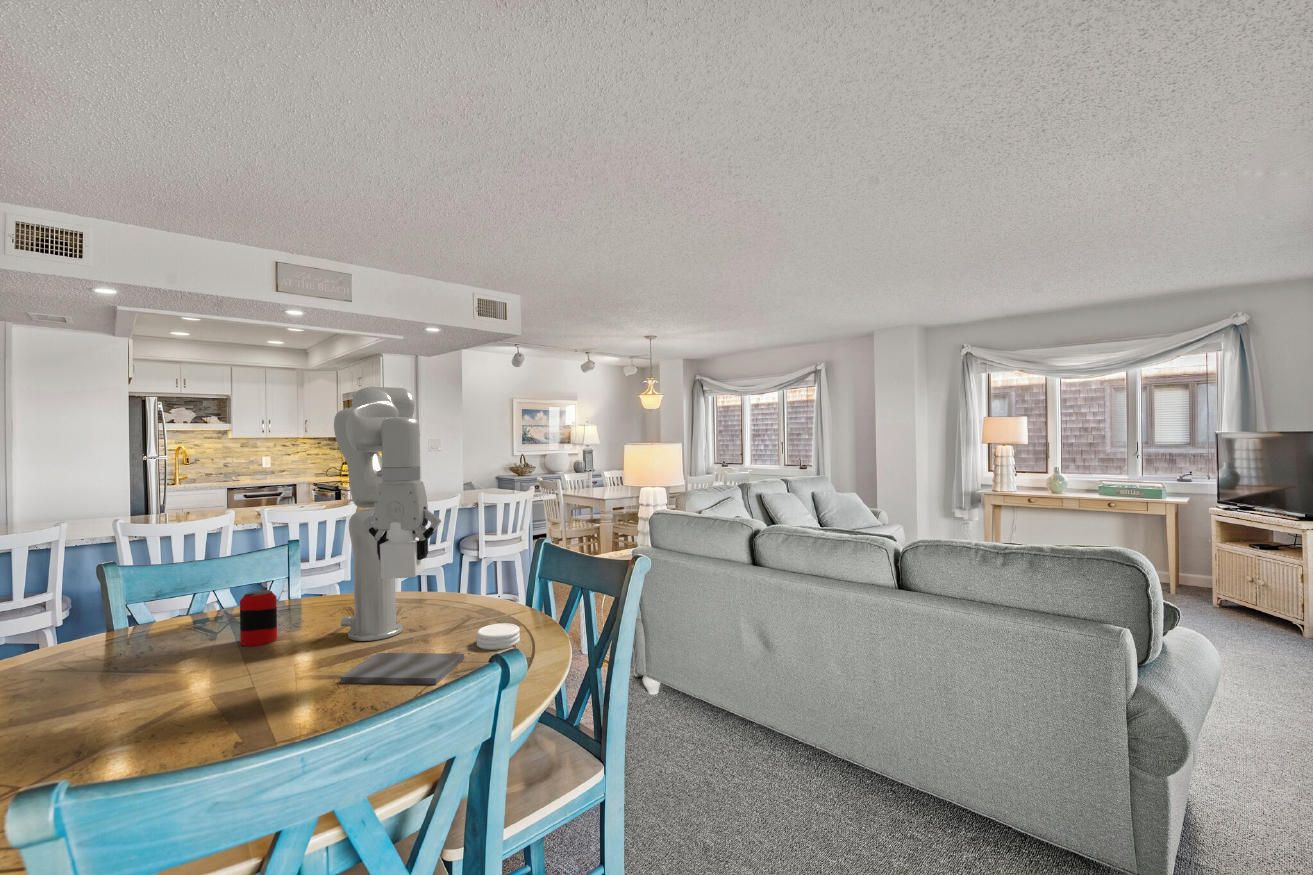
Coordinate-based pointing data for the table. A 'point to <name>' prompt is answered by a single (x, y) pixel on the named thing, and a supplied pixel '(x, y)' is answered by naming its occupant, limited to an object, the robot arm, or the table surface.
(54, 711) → the table surface
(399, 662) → the charcoal board
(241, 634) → the soda can
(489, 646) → the coaster
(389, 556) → the medicine bottle
